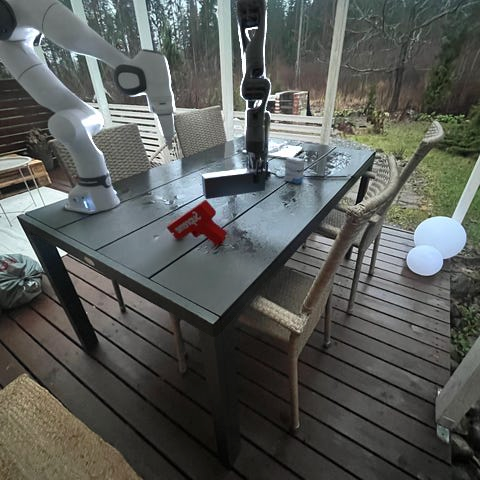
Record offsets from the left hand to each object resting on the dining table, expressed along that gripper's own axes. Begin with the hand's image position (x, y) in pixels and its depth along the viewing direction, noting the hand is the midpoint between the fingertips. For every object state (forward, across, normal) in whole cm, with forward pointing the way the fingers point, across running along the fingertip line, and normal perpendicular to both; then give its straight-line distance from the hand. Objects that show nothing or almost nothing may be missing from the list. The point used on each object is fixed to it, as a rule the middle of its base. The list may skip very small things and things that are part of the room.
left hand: (169, 146), depth 102 cm
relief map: (+28, -72, +76) cm, 108 cm away
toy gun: (+27, +27, +2) cm, 38 cm away
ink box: (+28, -14, +62) cm, 69 cm away
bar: (+20, +7, +23) cm, 31 cm away
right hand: (+16, +7, +31) cm, 36 cm away
